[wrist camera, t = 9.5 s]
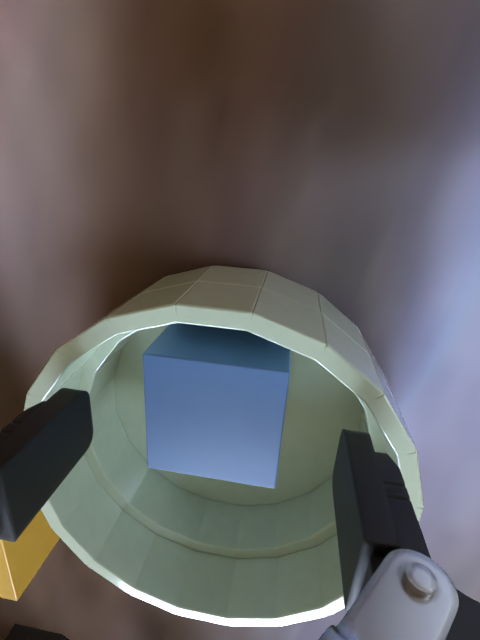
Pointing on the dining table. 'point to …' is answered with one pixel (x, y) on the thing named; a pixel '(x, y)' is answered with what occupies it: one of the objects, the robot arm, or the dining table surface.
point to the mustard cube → (25, 556)
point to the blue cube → (215, 403)
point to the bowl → (213, 494)
